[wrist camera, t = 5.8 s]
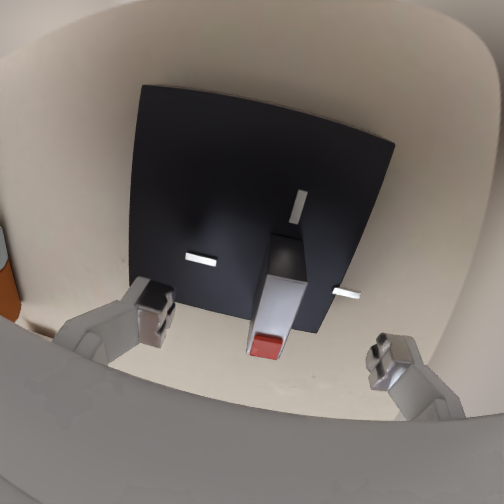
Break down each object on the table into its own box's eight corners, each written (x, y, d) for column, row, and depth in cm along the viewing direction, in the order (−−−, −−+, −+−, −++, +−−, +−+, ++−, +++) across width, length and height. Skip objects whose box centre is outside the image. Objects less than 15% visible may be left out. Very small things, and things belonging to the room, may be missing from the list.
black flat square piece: (401, 144, 12) (421, 154, 10) (325, 326, 17) (328, 352, 16) (160, 84, 11) (139, 84, 10) (143, 283, 17) (128, 306, 15)
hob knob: (270, 233, 12) (266, 279, 10) (303, 240, 12) (309, 287, 10) (252, 306, 14) (244, 357, 12) (280, 312, 14) (278, 363, 12)
